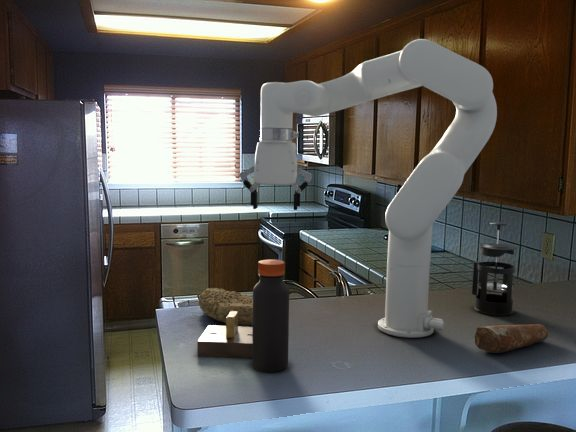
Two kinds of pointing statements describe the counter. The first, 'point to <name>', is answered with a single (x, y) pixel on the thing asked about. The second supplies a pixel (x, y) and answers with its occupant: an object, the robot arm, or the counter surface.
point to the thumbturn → (231, 324)
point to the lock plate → (225, 342)
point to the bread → (509, 337)
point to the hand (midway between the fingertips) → (275, 208)
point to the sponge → (227, 305)
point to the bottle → (270, 318)
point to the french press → (495, 302)
